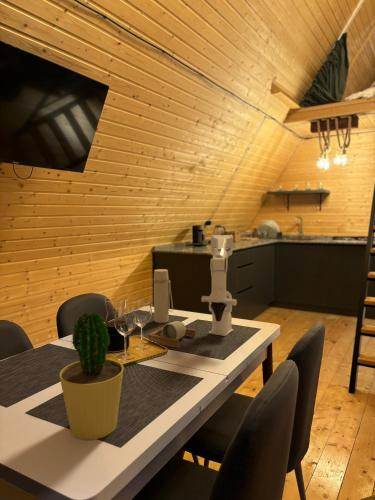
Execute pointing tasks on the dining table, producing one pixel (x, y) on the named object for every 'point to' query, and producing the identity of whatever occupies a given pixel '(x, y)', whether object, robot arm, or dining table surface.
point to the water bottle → (161, 296)
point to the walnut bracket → (169, 341)
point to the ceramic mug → (173, 330)
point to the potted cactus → (91, 381)
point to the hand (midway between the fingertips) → (218, 320)
